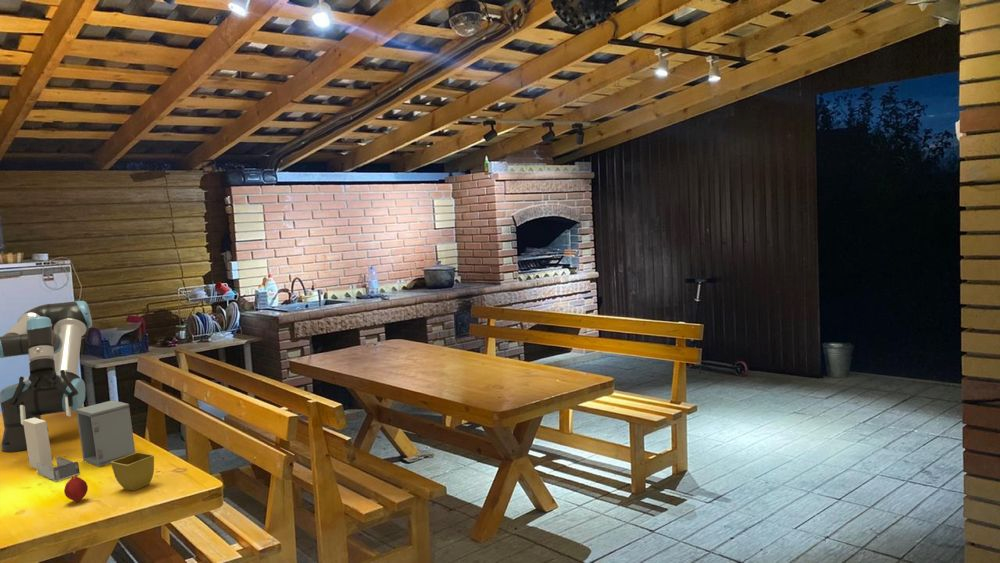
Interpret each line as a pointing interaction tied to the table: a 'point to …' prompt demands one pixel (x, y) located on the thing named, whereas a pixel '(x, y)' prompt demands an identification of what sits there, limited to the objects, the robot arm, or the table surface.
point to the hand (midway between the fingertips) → (46, 420)
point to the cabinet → (105, 432)
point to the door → (37, 442)
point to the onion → (75, 488)
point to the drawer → (59, 469)
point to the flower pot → (134, 470)
